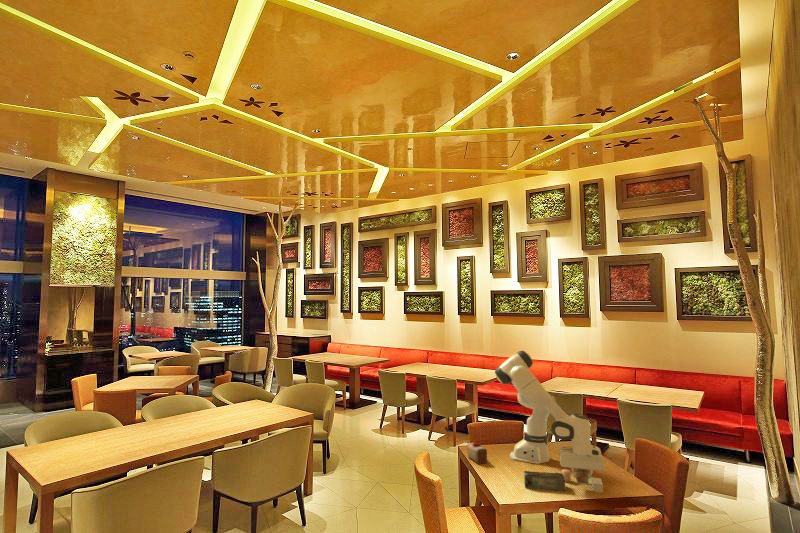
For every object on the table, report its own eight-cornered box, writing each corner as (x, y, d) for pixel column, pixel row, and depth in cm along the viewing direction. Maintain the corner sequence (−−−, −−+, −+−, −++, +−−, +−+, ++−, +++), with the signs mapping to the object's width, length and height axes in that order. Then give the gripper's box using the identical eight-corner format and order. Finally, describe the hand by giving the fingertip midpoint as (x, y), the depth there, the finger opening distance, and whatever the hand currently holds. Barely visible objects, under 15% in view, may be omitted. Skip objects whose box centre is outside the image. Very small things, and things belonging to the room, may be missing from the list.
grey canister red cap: (465, 457, 265) (465, 440, 266) (477, 455, 268) (477, 438, 269) (477, 465, 252) (477, 447, 253) (489, 463, 255) (489, 445, 256)
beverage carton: (523, 482, 229) (523, 468, 230) (563, 485, 226) (563, 472, 226) (524, 488, 222) (524, 474, 222) (565, 492, 218) (565, 478, 218)
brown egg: (561, 482, 230) (561, 471, 230) (561, 478, 234) (561, 468, 234) (571, 483, 228) (570, 472, 229) (570, 479, 233) (570, 469, 233)
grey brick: (603, 493, 217) (602, 484, 217) (594, 492, 218) (593, 483, 218) (600, 486, 224) (600, 478, 225) (592, 485, 226) (591, 477, 226)
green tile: (577, 483, 228) (577, 481, 228) (576, 476, 237) (576, 475, 237) (597, 485, 226) (597, 484, 226) (594, 478, 234) (594, 477, 234)
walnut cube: (577, 482, 219) (577, 471, 219) (576, 478, 224) (575, 468, 224) (588, 483, 217) (588, 472, 218) (587, 479, 222) (586, 469, 223)
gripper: (559, 448, 221) (560, 477, 220) (604, 452, 216) (605, 482, 215) (558, 444, 227) (559, 472, 226) (602, 448, 222) (603, 477, 221)
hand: (582, 477), depth 221 cm, fingers closed on walnut cube, 5 cm apart
